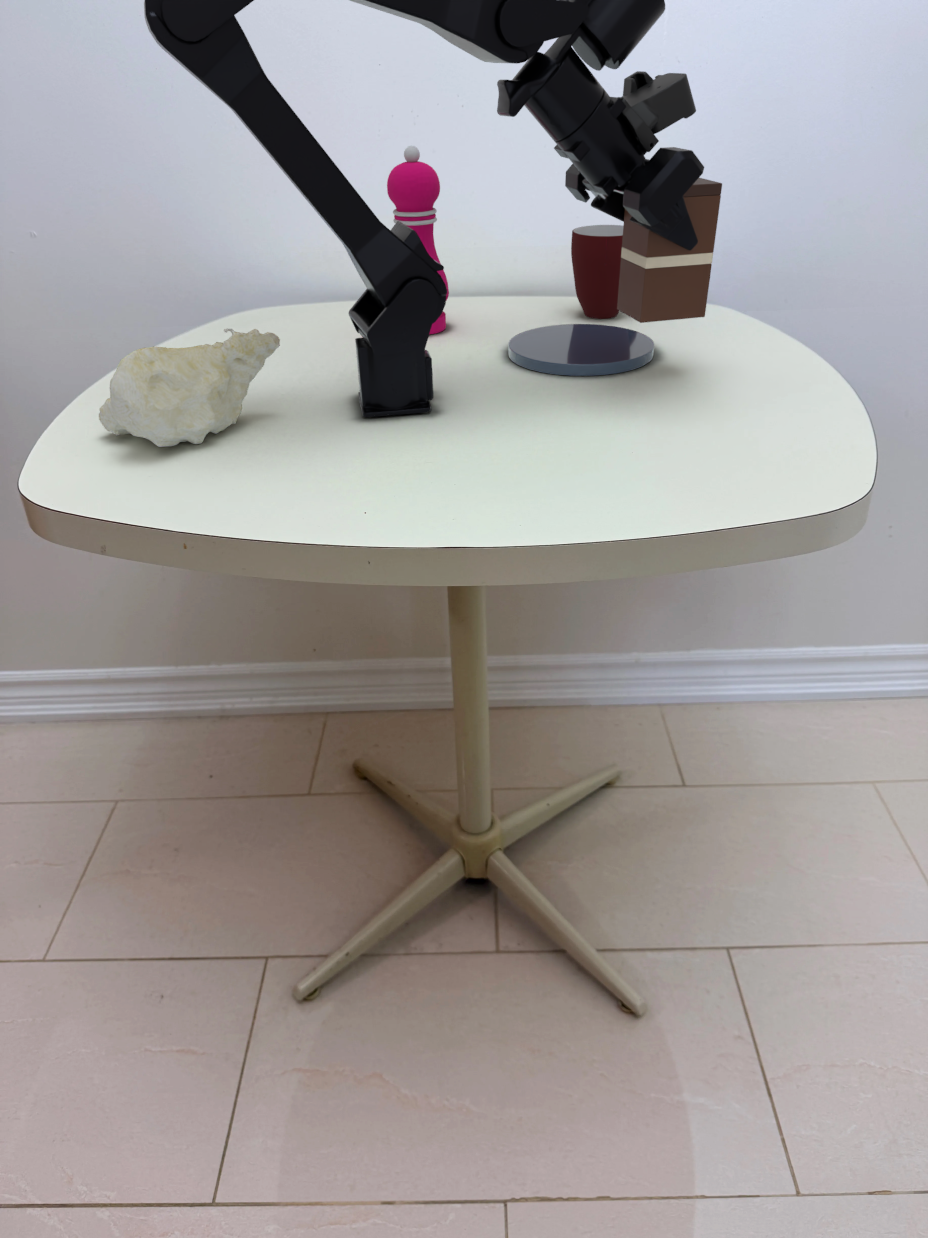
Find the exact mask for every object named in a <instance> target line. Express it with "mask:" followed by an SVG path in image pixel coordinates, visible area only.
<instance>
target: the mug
mask: <svg viewBox="0 0 928 1238" xmlns="http://www.w3.org/2000/svg"><path fill="white" fill-rule="evenodd" d="M623 226H624V225H621V224H619V225H618V224H593V225H592V224H591V225H583V226H579V227H576V228H573V229H571V241H570V242H571V245H570V256H571V265H572V272H573V281H574V289H575V293H576V298H577V301H578V303H579V305H580V307H581V310H582V311H583V314H584V316H585V317H586V318H589V319H595V320H608V319H609V320H610V319H614V318H615V317H617V316H618V315H619V313H620V311H619V310H617V303H618V290H619V278H620V265H621V251H622V239H623Z"/></svg>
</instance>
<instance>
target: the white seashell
mask: <svg viewBox="0 0 928 1238" xmlns="http://www.w3.org/2000/svg"><path fill="white" fill-rule="evenodd" d="M223 332H224V333H225V334H226V333H228V332H230V333H231V336H230V337H229V338H227V339H226V340H224V341H223V342H220V341H216V342H215V343H214V344H208V343H205V344H199V345H194V346H189V347H167V346H165V347H164V346H155V345H154V346H151V347H142V348H138V349H135V350H133V351H131V352H130V353H128V354H127V355H126V356H124V357H123V358H122V359H120V361H119V363H118V365H117V367H116V371H115V372H114V373H113V375H112V377H111V379H110V381H109V396H110V397H109V398H107V399H106V400H105V401H104V404H102V405H101V406H100V407H99V409H98V410H99V413H98V420H99V422H100V424H101V425H102V426H103V428H104V430H106V431H107V432H110V433H112V434H114V435H115V436H119V435H132V436H133V437H138V438H144V439H146V440H148V441H150V442H152V444H154V445H155V446H156V447H159V448H161V447H175V446H177V445H179V444H180V443H185V442H189V443H190V444H194V445H198V444H200V445H201V444H203V442H204V440H205V438H206V436H207V435H208V433H213V434H214V435H215V434H219V433H220V432H224V431H225V430H226V429H227V428H228V427H230V426H231V425H236V424H237V422H238V418H239V416H240V415H241V413H242V410H243V401H244V400H245V398H246V396H247V395H248V390H249V388H250V387H249V386H250V384H251V382H252V381H253V380H255V378H256V376H257V375H258V373H260V371H261V370H262V369H263V368H264V366H265V363H266V361H267V358H269V357H270V356H272V355H273V354H274V353H275V351H276V350H277V349H278V348H279V347H280V346H281V344H280V343H281V339H280V337H279V335H277V334H275V333H274V332H270V331H267V332H264V333H261V332H260V330H259V329H258V328H253V329H251V330H250V331H248V332H246V333H245V332H238V331H235V330H234V329H233V328H224V329H223Z"/></svg>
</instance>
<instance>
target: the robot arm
mask: <svg viewBox="0 0 928 1238" xmlns="http://www.w3.org/2000/svg"><path fill="white" fill-rule="evenodd" d="M254 1H255V0H144V1H143V10H144V12H143V13H144V22H145V24H146V27H147V30H148V32H149V33H150V35H151V36H152V38H153V40H154V42H156V44H157V46H159V47H160V48H161V49H162V50H163V51H164V52H165V53H166V54H168V55H169V56H170V57H171V58H172V59H173V60H174V61H176V62H177V63H178V64H179V65H180V66H181V67H182V68H183V69H185V70H186V72H188V73H189V74H190V75H191V76H192V77H193V78H195V79H196V80H197V82H199V83H200V84H202V85H203V86H204V87H205V88H207V90H208V91H210V93H212V94H213V95H214V96H216V97H217V98H218V99H219V100H220V101H222V102H223V103H224V104H225V105H226V107H228V108H229V109H230V110H231V111H232V113H234V115H235V116H236V117H237V118H238V120H239V121H240V122H241V123H242V124H243V125H244V127H245V128H246V129H247V130H248V131H249V133H250V134H251V135H252V137H254V139H255V140H256V141H257V142H258V143H259V145H260V146H261V147H262V149H263V150H264V151H265V152H266V153H267V154H268V155H269V157H270V158H271V160H273V161H274V163H275V164H276V166H278V168H279V169H280V170H281V171H282V172H283V174H284V175H285V177H287V178H288V179H289V181H290V182H291V183H292V185H293V186H294V187H295V189H297V191H298V192H299V193H300V194H301V196H302V197H303V198H304V199H305V200H306V201H307V203H308V204H309V206H311V207H312V209H313V210H314V212H316V213H317V215H318V216H319V218H320V219H322V221H323V222H324V223H325V225H327V227H328V229H330V230H331V232H332V233H333V234H334V235H335V236H336V238H337V239H338V240H339V242H341V244H342V246H343V248H344V249H345V251H346V252H347V255H348V256H349V258H350V261H351V262H352V265H353V266H354V268H355V270H356V273H357V274H358V276H359V277H360V279H361V281H362V282H363V284H364V286H365V287H366V289H365V290H364V292H363V293H362V294H361V295H360V296H359V297H358V299H357V300H356V301H355V303H354V304H353V305H352V307H350V309H349V311H348V316H349V320H351V323H352V325H353V327H354V331H356V333H357V334H359V335H360V336H361V337H356V338H354V339H355V340H354V341H355V353H356V364H357V375H358V385H359V387H358V388H359V391H358V393H357V395H358V396H357V397H358V402H359V406H360V411H361V416H362V417H363V418H374V417H387V416H389V417H390V416H399V415H401V416H402V415H412V414H424V413H431V411H432V405H431V403H430V401H432V400H433V399H434V380H433V379H434V378H433V359H432V356H431V354H430V352H429V351H428V350H427V349H426V346H427V343H428V340H429V337H430V335H429V333H430V330H431V327H432V324H433V323H434V322H436V320H437V319H438V318H439V317H440V315H441V314H442V312H444V310H445V306H446V303H447V301H446V295H447V288H446V284H445V283H444V281H443V279H442V277H441V275H440V274H439V273H438V272H437V271H441V270H445V267H444V265H443V264H442V263H441V262H440V263H441V264H440V263H438V262H437V261H435V260H434V259H432V258H431V257H430V255H429V254H428V252H427V251H426V249H425V247H424V245H423V243H422V241H421V239H420V238H419V236H418V234H417V233H416V231H414V230H413V229H411V228H410V227H408V226H406V225H405V224H403V223H402V222H400V221H397V222H396V223H394V225H393V226H392V227H391V229H389V228H388V227H387V226H386V225H385V224H384V223H383V222H381V221H380V219H379V218H378V217H377V216H376V214H375V212H374V211H373V210H372V209H371V208H370V206H369V205H368V204H367V202H366V201H365V200H364V199H363V198H362V196H361V195H360V194H359V192H358V191H357V189H356V188H355V187H354V186H353V185H352V183H351V182H350V181H349V180H348V179H347V177H346V176H345V175H344V173H343V172H342V171H341V169H340V168H339V167H338V166H337V165H336V163H335V162H334V160H333V159H332V158H331V157H330V156H329V154H328V153H327V151H326V150H325V149H324V148H323V146H322V145H321V144H320V143H319V142H318V140H317V139H316V138H315V137H314V135H313V134H312V133H311V131H310V130H309V129H308V128H307V126H306V125H305V124H304V122H303V121H302V120H301V119H300V117H299V116H298V114H296V112H295V111H294V109H293V108H292V107H291V106H290V105H289V103H288V102H287V101H286V99H285V98H284V97H283V95H282V94H281V93H280V92H279V90H277V88H276V87H275V85H274V84H273V82H272V81H270V79H269V77H268V76H267V74H266V72H265V71H264V69H263V66H262V65H261V64H260V61H259V59H258V57H257V55H256V54H255V53H256V52H254V50H253V48H252V45H251V44H250V41H249V39H248V37H247V36H246V34H245V32H244V30H243V28H242V26H241V25H240V23H239V21H238V19H237V17H236V15H237V14H238V13H240V12H241V11H242V10H244V9H245V8H246V7H247V6H249V5H250V4H252V3H253V2H254ZM349 1H350V2H353V3H356V4H360V5H362V6H365V7H367V8H371V9H374V10H377V11H381V12H383V13H386V14H389V15H393V16H395V17H398V18H402V19H405V20H408V21H412V22H414V23H418V24H420V25H422V26H424V27H426V28H427V29H429V30H430V31H432V32H434V33H435V34H437V35H438V36H440V37H441V38H442V39H444V40H445V41H447V42H448V43H450V44H452V45H453V46H454V47H457V48H458V49H460V50H462V51H464V52H465V53H467V54H469V55H470V56H472V57H474V58H476V59H477V60H479V61H482V62H484V63H491V64H516V65H517V64H521V63H524V64H523V65H522V67H521V68H520V69H519V70H518V72H517V73H516V74H515V76H514V77H513V78H512V79H498V81H497V83H496V85H497V89H498V90H497V91H498V98H497V108H496V113H497V115H498V116H499V117H500V116H502V117H509V118H511V117H512V118H514V117H516V116H517V115H518V114H519V113H520V111H521V110H522V109H523V107H525V108H526V109H527V111H528V112H529V113H530V114H531V115H532V116H533V118H534V119H535V120H536V121H537V122H538V124H539V125H540V126H541V127H542V128H543V130H544V131H545V132H546V133H547V134H548V136H549V137H550V138H551V139H552V140H553V142H554V143H555V146H554V147H553V149H554V151H555V152H556V153H557V154H558V156H560V157H561V158H565V159H569V161H570V162H571V163H572V164H571V165H570V166H569V167H568V168H567V170H566V171H565V181H564V183H565V184H564V186H565V187H566V189H567V190H568V191H569V193H571V195H572V196H573V197H574V198H575V199H576V200H577V201H579V202H582V203H586V204H587V202H588V201H589V200H590V199H591V196H590V194H589V192H590V193H591V194H592V195H593V196H594V198H593V199H592V201H591V202H590V207H592V208H593V209H596V210H598V211H600V212H602V213H604V214H606V215H608V216H611V217H613V218H614V219H616V220H619V221H620V222H623V223H624V214H625V209H626V210H627V211H628V213H629V214H630V215H631V216H632V217H631V218H630V221H631V222H633V223H635V224H637V225H639V226H641V227H643V228H645V229H647V230H649V231H651V232H653V233H655V234H657V235H659V236H661V237H663V238H665V239H667V240H669V241H671V242H673V243H675V244H677V245H679V246H681V247H683V248H685V249H687V250H689V251H690V250H692V249H693V248H694V247H695V246H696V245H697V243H698V239H697V236H696V234H695V231H694V228H693V225H692V222H691V219H690V217H689V214H688V211H687V208H686V205H685V201H684V197H683V195H684V194H685V193H686V192H687V190H688V189H689V188H690V187H691V186H692V185H693V184H694V183H695V181H696V180H697V179H698V178H701V176H702V175H703V174H704V171H705V165H704V164H703V163H702V162H701V160H700V159H699V157H698V156H697V155H696V153H695V152H694V151H693V150H692V149H686V148H681V147H677V146H676V147H675V146H668V147H659V148H658V149H657V150H656V151H655V152H654V154H653V155H652V156H651V158H649V159H648V158H646V156H645V155H646V154H647V153H651V151H652V150H653V149H654V148H655V147H656V145H657V144H658V143H659V142H660V140H659V139H658V137H657V136H656V134H658V133H660V132H662V131H663V130H665V129H667V128H668V127H670V126H672V125H674V124H676V123H677V122H679V121H681V120H682V119H688V118H690V117H692V116H693V115H694V114H695V113H696V112H697V109H696V104H695V101H694V97H693V94H692V89H691V86H690V82H689V79H688V75H687V73H685V72H683V73H682V72H680V73H679V72H678V73H677V72H668V73H664V74H657V75H656V76H654V78H653V77H652V76H651V75H650V74H649V73H648V72H647V71H639V70H636V71H635V72H633V73H632V74H630V75H629V76H626V77H625V78H624V79H623V90H622V96H610V95H609V93H608V92H607V91H606V90H605V88H604V87H603V86H602V85H601V83H600V81H598V79H597V78H596V77H595V75H594V74H593V72H591V70H590V69H589V68H588V67H590V68H591V69H593V70H595V71H598V72H600V71H602V69H603V68H604V67H606V68H608V69H611V70H618V69H619V68H620V66H621V65H622V64H623V63H624V62H625V60H626V59H627V58H628V57H629V56H630V55H631V53H632V52H633V51H634V50H635V48H636V47H637V46H638V45H639V43H640V42H641V41H642V40H643V39H644V38H645V36H646V35H647V34H648V32H649V31H650V30H651V29H652V28H653V26H654V25H655V24H656V23H657V21H658V20H659V19H660V18H661V17H662V15H664V13H665V11H666V2H665V1H666V0H349ZM555 39H556V40H555ZM551 40H555V41H554V42H553V43H552V44H551V46H550V47H549V48H548V49H547V50H546V51H545V52H544V53H543V52H540V51H539V50H540V49H541V48H542V47H543V45H544V43H545V42H548V41H551ZM588 191H589V192H588Z"/></svg>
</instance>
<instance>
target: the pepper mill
mask: <svg viewBox="0 0 928 1238" xmlns="http://www.w3.org/2000/svg"><path fill="white" fill-rule="evenodd" d="M420 153H421V152H420V150H419V148H418V147H416V146H415V145H408V146H407V147H405V148H404V151H403V157H404V160H405V161H404V162H401V163H398V164H396V166H393V168H392V169H391V171H390V172H389V174H388V178H387V181H386V188H387V190H386V192H387V195H388V198H389V200H390V201H391V202H392V203H393V205H394V206H395V209H393V211H392V214H393V216H394V218H393V221H392V222H393V223H394V224H396V222H397V221H400V222H402V223H403V224H405V225H406V226H408V227H410V228H411V229H413V230H414V231H416V233H417V234H418V236H419V238H420V239H421V241H422V243H423V245H424V247H425V249H426V251H427V252H428V254H429V255H430V257H431V258H432V259H434V260H435V261H437V262H438V263H440V264H441V265H442V263H441V261H440V259H439V256H438V253H437V249H436V246H435V237H434V223H436V222H437V221H438V218H437V215H436V213H437V209H436V208H435V207H434V205H435V202H436V201H437V200H438V198H439V196H440V192H441V183H440V178H439V176H438V173H437V172H436V170H435V169H434V168H433V167H432V166H431V165H429V164H428V163H427V162H426V163H425V162H422V161H419V160H420V157H421V154H420ZM437 272H438V273H439V274H440V275H441V277H442V279H443V281H444V283H445V284H446V288H447V295H446V302H447V301H448V299H449V296H450V289H449V281H448V279H447V275H446V272H445V269H443V270H441V271H437ZM446 314H447V313H446V312H445V311H443V312H442V314H441V315H440V317H439V318H438V319H437V320H436V322H434V323H433V324H432V327H431V330H430V333H429V336H430V335H435V334H438V333H441V332H443V331H445V330H446V327H447V316H446Z"/></svg>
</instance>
